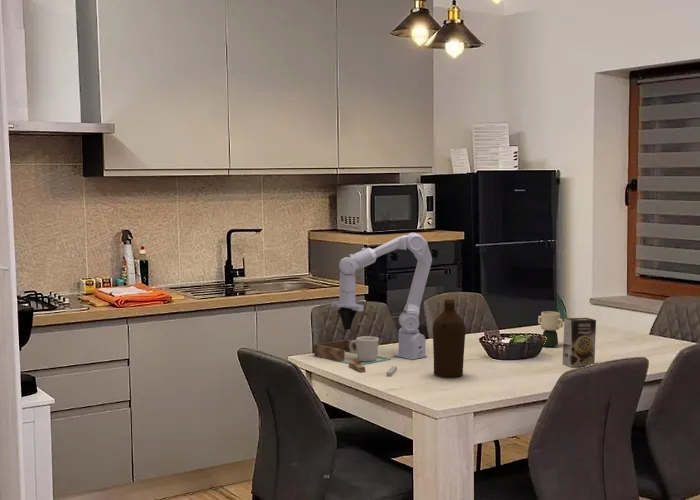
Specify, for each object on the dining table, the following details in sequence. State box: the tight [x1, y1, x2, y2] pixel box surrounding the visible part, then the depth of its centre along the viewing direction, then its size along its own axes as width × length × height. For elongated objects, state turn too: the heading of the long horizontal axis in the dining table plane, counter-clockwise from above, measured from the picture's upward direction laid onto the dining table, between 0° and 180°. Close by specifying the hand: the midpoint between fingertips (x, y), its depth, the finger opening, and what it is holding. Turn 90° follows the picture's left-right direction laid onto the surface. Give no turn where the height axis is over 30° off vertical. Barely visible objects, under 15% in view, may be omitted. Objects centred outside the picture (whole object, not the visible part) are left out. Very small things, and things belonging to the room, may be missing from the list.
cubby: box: [313, 339, 356, 362], centre depth 320 cm, size 15×15×4 cm
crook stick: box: [348, 358, 366, 374], centre depth 299 cm, size 11×4×2 cm, turn 23°
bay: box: [339, 355, 392, 366], centre depth 312 cm, size 9×16×1 cm, turn 133°
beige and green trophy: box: [537, 310, 564, 348], centre depth 340 cm, size 11×7×13 cm, turn 44°
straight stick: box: [385, 365, 398, 377], centre depth 293 cm, size 10×2×2 cm, turn 166°
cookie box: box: [562, 317, 597, 368], centre depth 306 cm, size 9×6×16 cm
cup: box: [349, 335, 380, 363], centre depth 312 cm, size 11×8×8 cm
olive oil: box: [432, 297, 467, 379], centre depth 290 cm, size 11×11×25 cm
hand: (347, 329), depth 318 cm, fingers closed
